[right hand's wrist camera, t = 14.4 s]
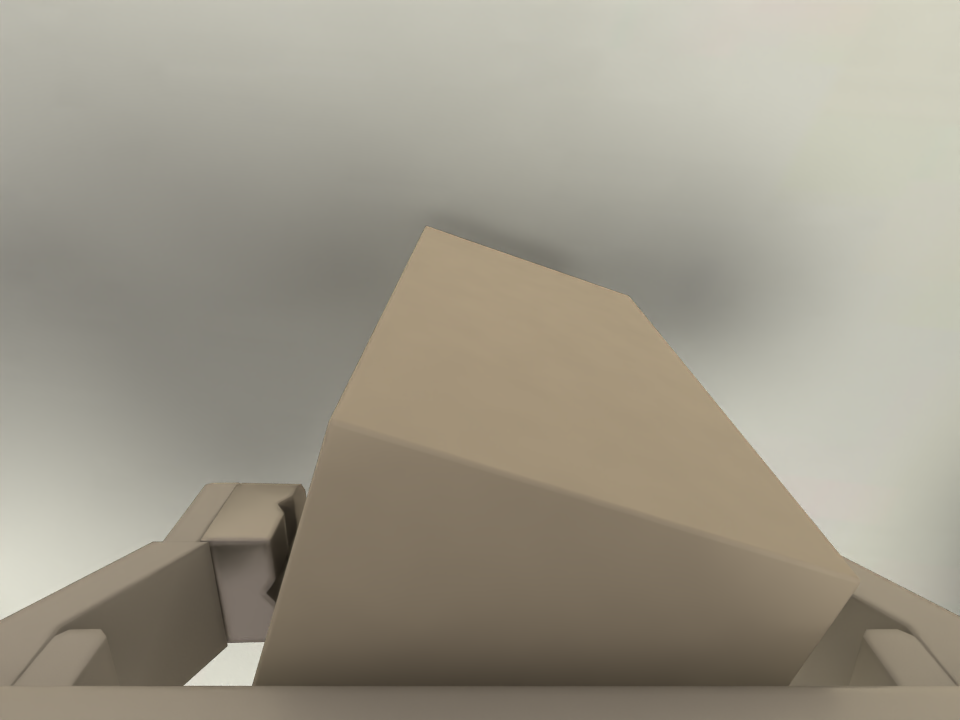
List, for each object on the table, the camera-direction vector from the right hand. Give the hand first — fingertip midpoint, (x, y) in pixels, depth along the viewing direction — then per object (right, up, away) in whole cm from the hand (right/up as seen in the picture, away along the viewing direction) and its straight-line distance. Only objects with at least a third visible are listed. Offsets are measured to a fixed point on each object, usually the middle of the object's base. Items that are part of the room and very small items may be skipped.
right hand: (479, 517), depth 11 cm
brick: (0, +2, +5) cm, 5 cm away
